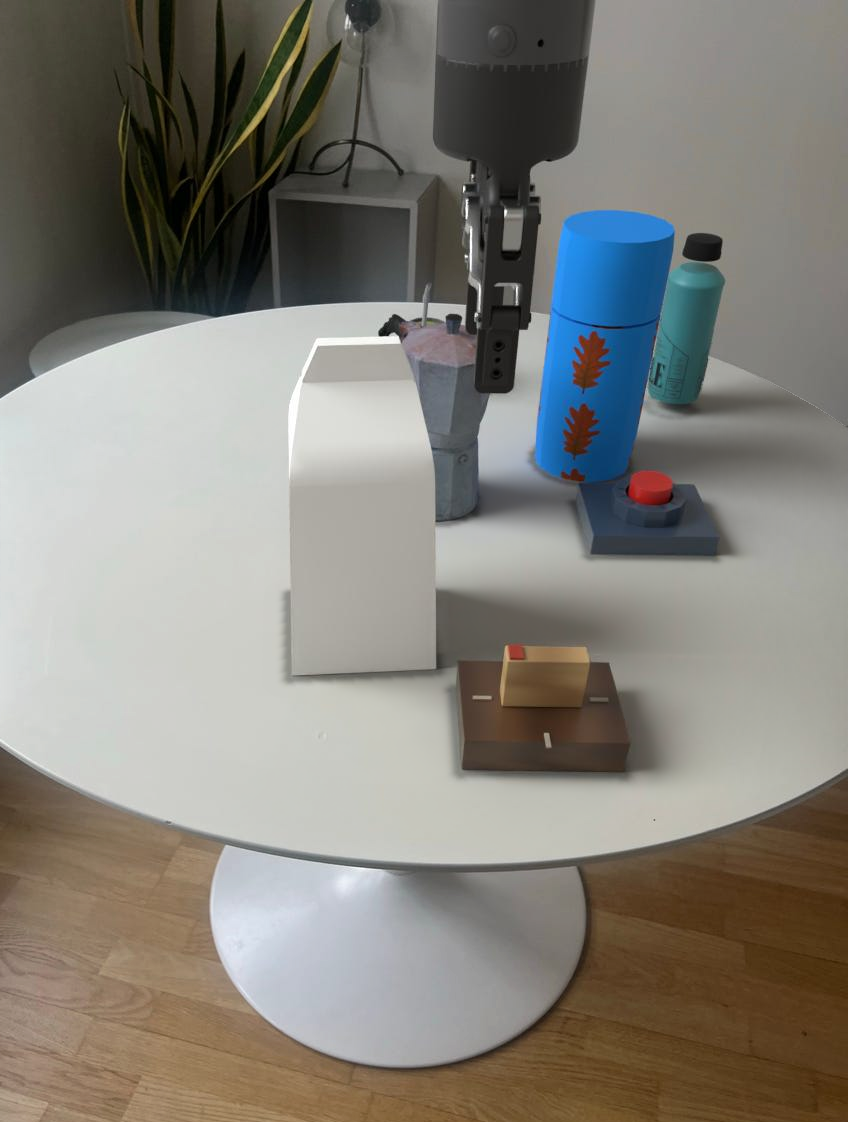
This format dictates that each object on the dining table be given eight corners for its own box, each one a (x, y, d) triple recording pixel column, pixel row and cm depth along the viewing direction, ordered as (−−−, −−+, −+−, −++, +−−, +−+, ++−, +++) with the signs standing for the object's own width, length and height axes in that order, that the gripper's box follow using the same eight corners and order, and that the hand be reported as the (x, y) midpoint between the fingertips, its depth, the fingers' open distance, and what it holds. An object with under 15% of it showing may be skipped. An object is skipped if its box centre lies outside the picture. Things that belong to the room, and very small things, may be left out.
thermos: (523, 474, 105) (552, 236, 89) (541, 430, 113) (570, 205, 97) (624, 490, 103) (672, 248, 87) (635, 444, 111) (681, 215, 95)
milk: (291, 675, 80) (272, 377, 63) (290, 592, 88) (273, 312, 72) (436, 669, 80) (454, 372, 64) (420, 587, 89) (433, 308, 73)
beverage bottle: (709, 408, 118) (750, 238, 105) (669, 421, 115) (707, 249, 102) (669, 388, 122) (705, 223, 109) (631, 401, 119) (662, 233, 107)
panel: (602, 685, 79) (608, 655, 77) (625, 778, 71) (633, 748, 69) (455, 683, 79) (457, 653, 77) (462, 775, 71) (465, 745, 69)
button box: (689, 502, 101) (698, 468, 98) (714, 556, 93) (724, 521, 91) (575, 500, 101) (580, 467, 99) (590, 554, 93) (596, 519, 91)
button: (664, 486, 96) (668, 470, 95) (673, 507, 93) (677, 491, 92) (624, 485, 96) (627, 470, 95) (632, 506, 93) (635, 491, 92)
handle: (578, 691, 74) (587, 643, 71) (581, 708, 72) (591, 659, 69) (499, 690, 74) (505, 642, 71) (501, 706, 72) (507, 658, 69)
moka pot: (469, 544, 95) (485, 347, 82) (346, 494, 102) (343, 307, 89) (518, 503, 101) (540, 314, 88) (399, 459, 108) (403, 278, 95)
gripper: (614, 70, 42) (566, 414, 52) (568, 24, 53) (536, 316, 63) (441, 70, 42) (427, 413, 52) (431, 24, 53) (421, 315, 63)
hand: (487, 360), depth 58 cm, fingers open, 8 cm apart
